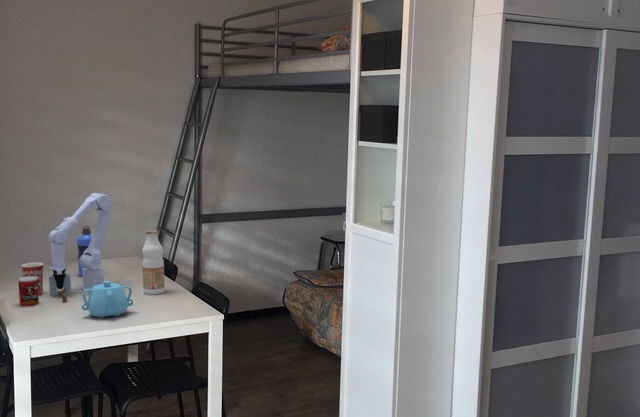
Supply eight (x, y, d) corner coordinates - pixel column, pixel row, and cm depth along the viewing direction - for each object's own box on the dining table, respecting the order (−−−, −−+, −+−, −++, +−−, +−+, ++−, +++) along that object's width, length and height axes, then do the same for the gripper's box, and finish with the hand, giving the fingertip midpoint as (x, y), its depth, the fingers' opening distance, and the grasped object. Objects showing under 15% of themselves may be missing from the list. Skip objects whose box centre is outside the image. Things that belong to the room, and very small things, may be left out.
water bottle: (102, 274, 361) (99, 225, 358) (87, 278, 353) (84, 227, 350) (89, 272, 366) (87, 223, 363) (74, 276, 358) (72, 226, 355)
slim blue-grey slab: (71, 292, 325) (70, 274, 324) (71, 293, 323) (70, 275, 322) (49, 294, 322) (48, 275, 321) (49, 295, 320) (48, 276, 319)
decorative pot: (108, 322, 278) (106, 288, 277) (78, 316, 286) (76, 283, 284) (137, 312, 293) (136, 279, 291) (108, 307, 300) (107, 275, 298)
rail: (66, 295, 319) (65, 289, 319) (66, 302, 308) (66, 295, 308) (62, 296, 319) (62, 289, 319) (62, 302, 308) (62, 295, 307)
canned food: (20, 307, 301) (19, 281, 300) (18, 302, 308) (17, 277, 307) (40, 304, 304) (38, 279, 303) (38, 300, 311) (36, 275, 310)
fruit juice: (141, 295, 320) (138, 232, 316) (145, 289, 329) (143, 229, 326) (162, 294, 320) (160, 232, 317) (166, 289, 330) (164, 229, 326)
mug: (44, 295, 320) (42, 265, 318) (22, 297, 317) (20, 267, 315) (45, 289, 332) (44, 260, 330) (24, 290, 329) (23, 261, 327)
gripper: (49, 254, 326) (50, 284, 327) (48, 260, 312) (50, 291, 314) (65, 253, 328) (67, 282, 330) (66, 259, 315) (67, 290, 316)
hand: (60, 287), depth 322 cm, fingers open, 7 cm apart
